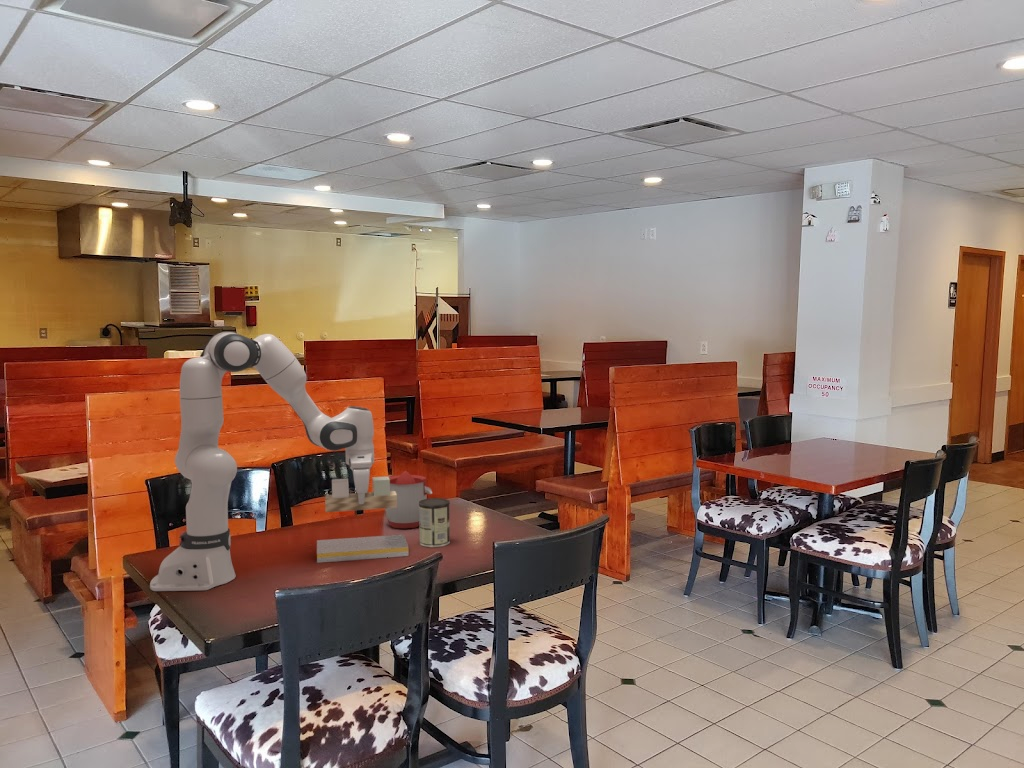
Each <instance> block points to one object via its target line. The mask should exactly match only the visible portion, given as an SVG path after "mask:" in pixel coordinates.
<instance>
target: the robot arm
mask: <svg viewBox="0 0 1024 768" xmlns="http://www.w3.org/2000/svg"><path fill="white" fill-rule="evenodd" d="M250 368H253V369H255V370H256V372H258V373H259V374H260V376H261V377H262V379H263V380H264V381H265V383H267V385H268V386H269V387H270V388H271V389H272V391H274V392H275V393H276V394H277V395H279V396H280V397H281V398H283V400H285V401H286V402H287V403H288V404H289V406H290V408H292V410H293V411H294V413H295V414H297V416H298V418H299V419H300V420H301V422H302V424H303V426H304V429H305V435H306V437H307V439H308V440H309V442H310V443H311V444H313V445H314V446H316V447H321V448H323V449H325V450H327V451H332V452H333V451H335V452H336V451H340V450H345V464H346V465H348V466H349V469H350V470H351V471H352V476H353V482H354V483H353V484H354V487H355V488H354V489H355V492H356V493H358V502H359V504H364V498H365V493H369V492H368V491H369V487H370V475H371V468H372V467H373V464H375V445H374V442H373V441H374V436H375V430H374V429H375V428H374V427H375V426H374V418H373V414H372V411H371V410H370V409H368V408H366V407H361V406H354V405H353V406H347V408H346V409H345V410H343V411H341V412H340V413H339V414H337V415H335V416H333V417H331V416H330V415H327V414H325V413H323V412H322V411H321V410H320V408H319V407H318V406H317V405H316V403H315V402H314V400H313V399H312V398H311V396H310V395H309V394H308V392H307V389H306V383H307V376H308V375H307V374H306V371H305V369H304V367H303V366H302V365H301V363H300V361H299V360H298V359H297V357H296V356H295V355H294V354H293V353H292V351H291V350H290V349H289V348H288V347H287V346H286V345H285V344H284V342H282V341H281V340H280V339H279V338H277V337H276V336H275V335H274V334H272V333H264V334H263V333H262V334H260V335H258V336H256V337H255V338H253V339H251V338H250V337H248V336H245V335H243V334H238V332H234V331H222V332H221V331H220V332H218V333H215V334H214V335H212V336H211V337H210V338H209V339H208V341H206V343H205V346H204V348H203V350H202V351H201V353H200V355H199V357H198V356H197V357H196V356H195V357H192V358H189V359H187V360H186V361H184V363H182V365H181V369H180V376H179V377H180V378H179V404H180V419H181V424H180V436H179V441H178V450H177V452H176V454H175V457H174V464H175V467H176V468H177V471H178V472H179V473H180V474H181V475H182V476H183V477H184V478H185V479H188V480H190V482H191V490H190V494H189V499H188V501H187V503H186V505H185V521H186V529H185V530H184V529H183V530H181V532H180V533H179V539H178V542H179V546H178V547H177V548H176V549H174V550H173V551H171V553H169V554H168V555H167V556H166V557H165V558H164V559H163V560H162V562H161V563H160V566H159V570H158V574H157V575H155V576H154V577H152V579H151V580H150V583H149V589H150V590H151V591H153V592H178V591H179V592H180V591H209V590H210V589H213V588H214V587H218V586H220V585H224V584H225V585H226V584H227V583H229V582H232V581H233V580H235V578H236V573H235V569H234V566H233V563H232V558H231V557H232V556H231V551H230V550H231V543H232V542H231V541H232V539H231V531H230V530H231V529H230V528H229V514H228V513H229V511H228V510H229V508H228V507H229V505H228V504H229V503H228V502H229V496H230V493H231V492H230V491H231V486H232V481H234V479H235V477H236V475H237V472H238V465H237V461H236V460H235V458H234V457H233V456H232V455H231V454H230V453H229V452H228V451H227V450H225V449H222V448H220V447H219V437H220V432H221V429H222V426H224V421H225V420H224V406H223V405H224V404H223V389H222V384H223V378H224V375H225V374H226V373H227V372H232V373H238V372H242V371H245V370H247V369H250Z"/></svg>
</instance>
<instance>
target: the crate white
mask: <svg viewBox="0 0 1024 768" xmlns="http://www.w3.org/2000/svg"><path fill="white" fill-rule="evenodd" d="M349 487H350V485H349V478H336V479H335V478H334V479H331V495H332V499H336V498H349V494H350V493H349V492H350V489H349Z"/></svg>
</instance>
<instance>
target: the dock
mask: <svg viewBox="0 0 1024 768" xmlns="http://www.w3.org/2000/svg"><path fill="white" fill-rule="evenodd" d="M409 552H410V551H409V544H408V542H407V540H406V537H405V535H404V534H392V535H391V534H390V535H376V536H363V537H362V536H360V537H348V538H347V537H345V538H332V539H330V538H329V539H320V540H318V539H317V540H316V563H317V564H319V563H321V564H322V563H330V562H331V563H333V562H335V563H336V562H346V561H359V560H373V559H386V558H387V557H388V558H398V557H399V558H400V557H409V556H410V555H409ZM388 558H387V559H388Z"/></svg>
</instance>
